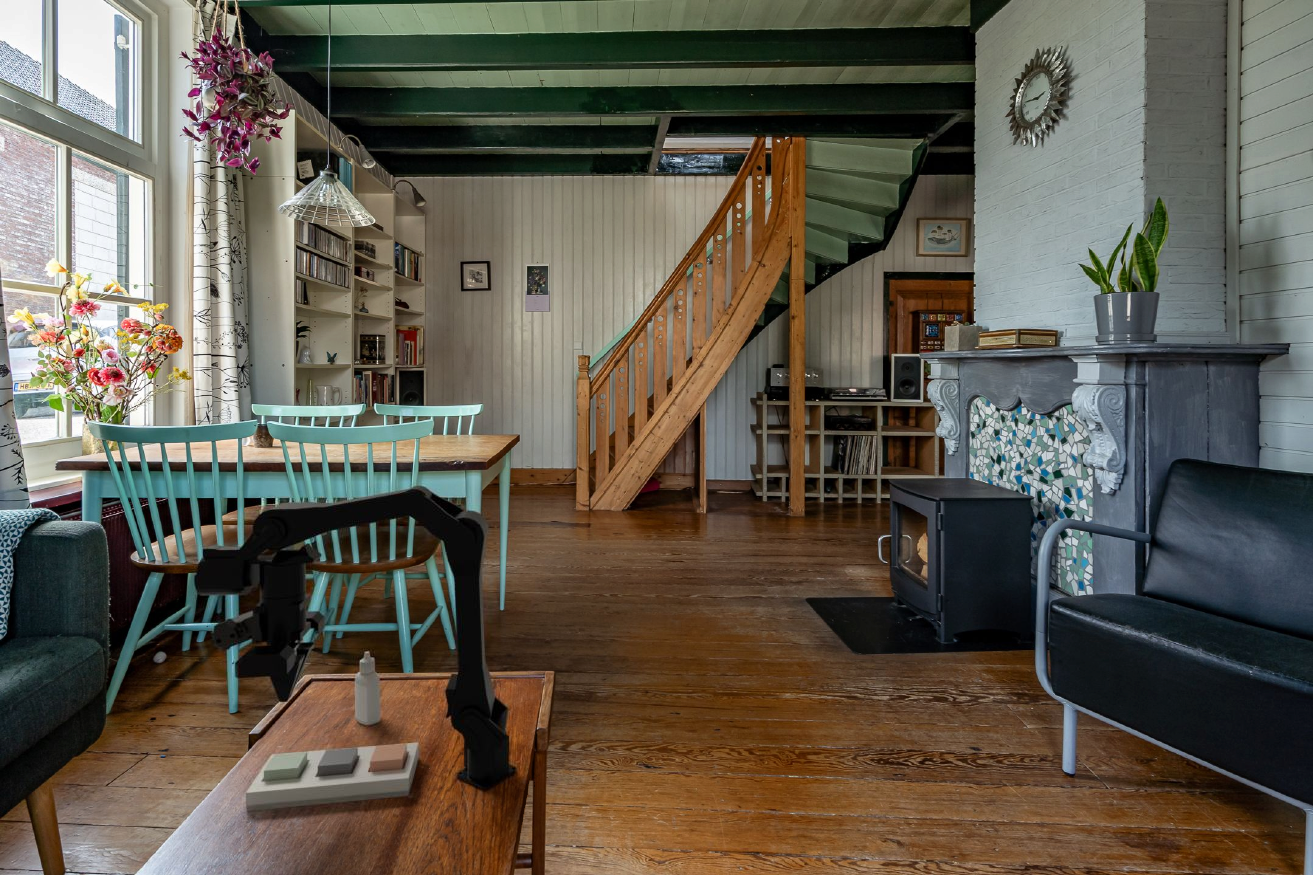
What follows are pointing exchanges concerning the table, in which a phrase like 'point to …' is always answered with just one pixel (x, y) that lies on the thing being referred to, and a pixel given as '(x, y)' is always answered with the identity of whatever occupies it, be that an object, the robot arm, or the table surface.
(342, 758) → the charcoal key
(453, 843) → the table surface
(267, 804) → the keypad frame
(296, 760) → the sage key
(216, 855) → the table surface
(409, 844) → the table surface
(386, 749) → the terracotta key
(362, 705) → the eye dropper bottle
